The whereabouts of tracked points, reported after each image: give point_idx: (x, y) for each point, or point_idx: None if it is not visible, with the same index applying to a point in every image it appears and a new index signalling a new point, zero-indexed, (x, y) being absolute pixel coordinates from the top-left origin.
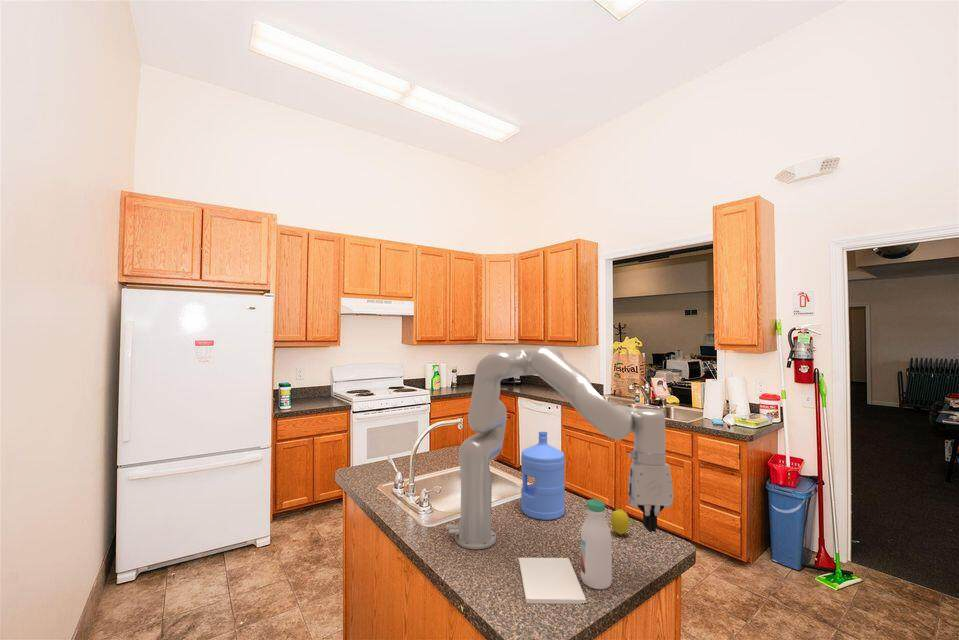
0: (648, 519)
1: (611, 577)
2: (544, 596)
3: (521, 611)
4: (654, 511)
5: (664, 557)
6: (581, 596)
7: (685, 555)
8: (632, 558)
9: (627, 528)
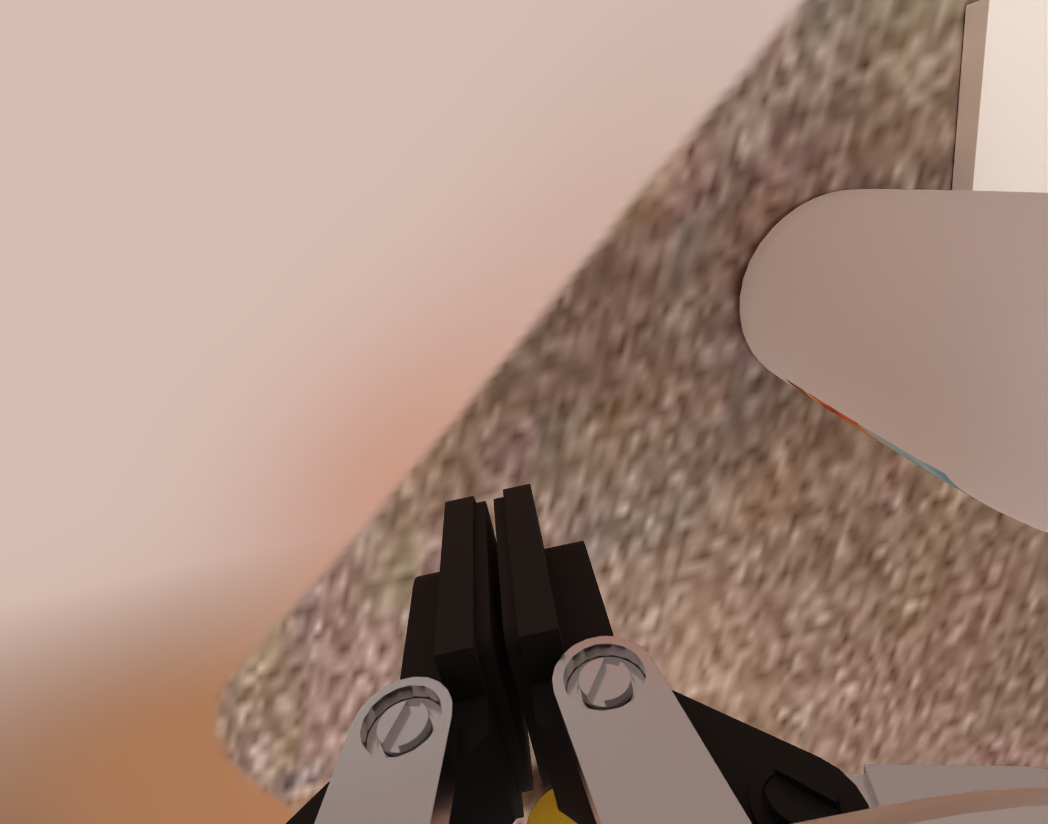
0: (556, 614)
1: (767, 266)
2: None
3: None
4: (449, 758)
5: (355, 633)
6: (1008, 31)
7: (229, 681)
8: None
9: (537, 817)
